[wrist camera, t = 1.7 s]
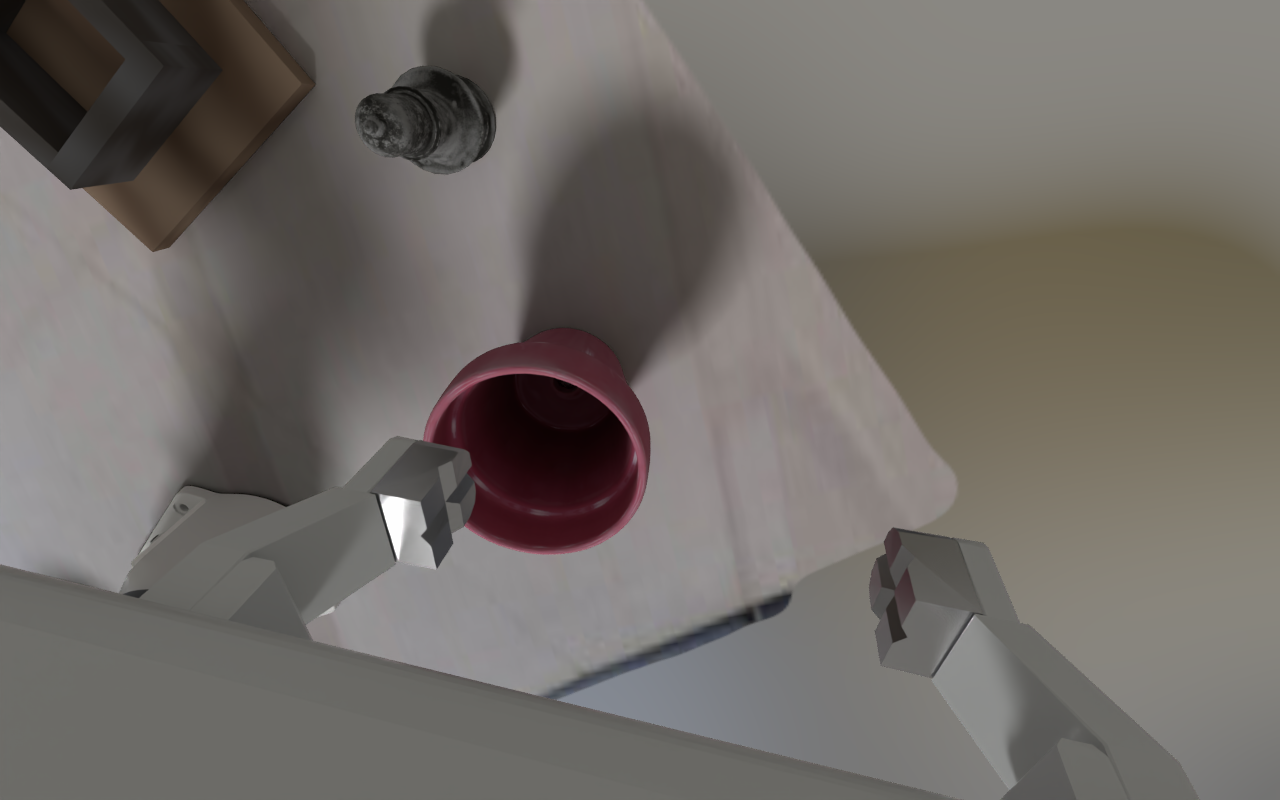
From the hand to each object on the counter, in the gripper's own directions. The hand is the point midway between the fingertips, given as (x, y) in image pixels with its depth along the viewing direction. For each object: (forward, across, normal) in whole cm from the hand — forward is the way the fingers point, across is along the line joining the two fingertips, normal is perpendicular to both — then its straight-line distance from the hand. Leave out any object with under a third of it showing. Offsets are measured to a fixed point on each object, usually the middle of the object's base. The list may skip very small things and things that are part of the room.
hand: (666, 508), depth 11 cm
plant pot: (+29, -12, -17) cm, 35 cm away
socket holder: (+27, -41, +4) cm, 49 cm away
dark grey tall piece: (+30, -19, +2) cm, 35 cm away
